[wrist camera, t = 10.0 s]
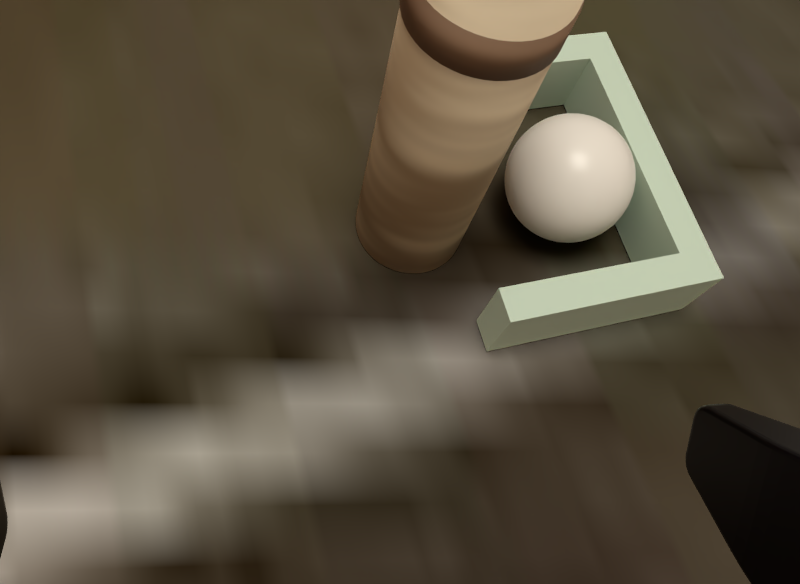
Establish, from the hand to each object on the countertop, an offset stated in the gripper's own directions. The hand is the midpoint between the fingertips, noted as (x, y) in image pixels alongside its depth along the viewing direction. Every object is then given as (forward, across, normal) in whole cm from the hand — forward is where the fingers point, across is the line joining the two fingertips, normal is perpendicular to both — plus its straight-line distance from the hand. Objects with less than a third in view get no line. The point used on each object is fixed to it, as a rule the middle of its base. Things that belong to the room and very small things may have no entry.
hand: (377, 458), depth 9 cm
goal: (+18, -9, +1) cm, 20 cm away
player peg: (+17, -4, +2) cm, 18 cm away
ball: (+16, -10, 0) cm, 19 cm away
